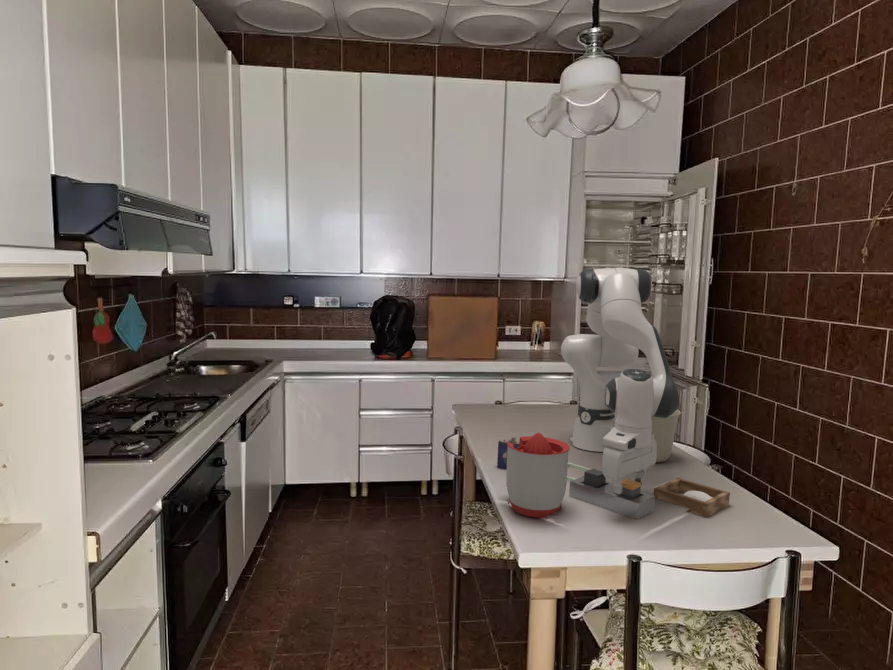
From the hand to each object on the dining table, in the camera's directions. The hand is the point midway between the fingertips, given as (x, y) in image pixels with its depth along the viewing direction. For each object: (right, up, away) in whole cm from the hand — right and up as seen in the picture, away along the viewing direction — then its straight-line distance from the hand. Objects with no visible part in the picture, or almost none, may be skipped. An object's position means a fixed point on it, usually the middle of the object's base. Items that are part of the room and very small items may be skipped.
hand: (628, 488), depth 157 cm
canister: (+20, -2, +48) cm, 53 cm away
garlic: (+20, -7, +7) cm, 23 cm away
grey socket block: (-4, -6, +4) cm, 8 cm away
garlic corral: (+19, -6, +9) cm, 22 cm away
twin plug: (-7, -4, +7) cm, 11 cm away
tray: (-9, -3, +27) cm, 28 cm away
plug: (0, -5, 0) cm, 5 cm away
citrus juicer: (-24, -6, +1) cm, 25 cm away
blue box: (-26, -2, +31) cm, 40 cm away
